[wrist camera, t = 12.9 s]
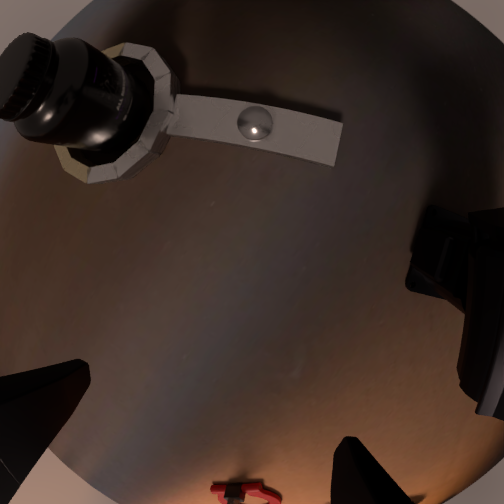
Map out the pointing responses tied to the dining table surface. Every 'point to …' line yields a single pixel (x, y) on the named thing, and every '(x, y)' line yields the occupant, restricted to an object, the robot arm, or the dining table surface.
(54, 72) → the supplement bottle
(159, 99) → the segmented ring handle
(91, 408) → the dining table surface
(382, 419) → the dining table surface
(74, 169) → the ring with knobbed tab
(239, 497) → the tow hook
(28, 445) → the robot arm
